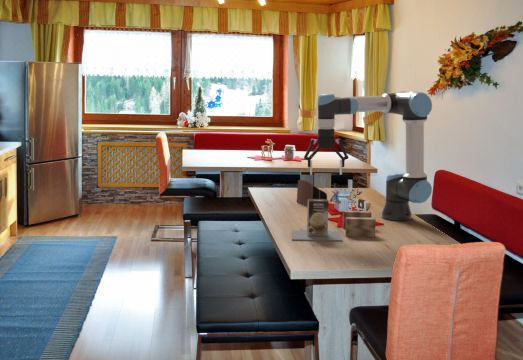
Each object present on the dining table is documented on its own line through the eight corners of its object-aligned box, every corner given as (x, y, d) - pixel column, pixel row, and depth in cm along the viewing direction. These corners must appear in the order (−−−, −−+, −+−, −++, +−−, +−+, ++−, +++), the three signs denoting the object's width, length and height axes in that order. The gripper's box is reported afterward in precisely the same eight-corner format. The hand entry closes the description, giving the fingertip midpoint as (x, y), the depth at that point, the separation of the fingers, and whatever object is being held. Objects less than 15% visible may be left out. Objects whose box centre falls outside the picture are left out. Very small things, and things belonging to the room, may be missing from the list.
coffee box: (307, 236, 298) (308, 201, 296) (306, 233, 304) (307, 198, 302) (328, 236, 298) (328, 201, 296) (326, 233, 304) (327, 198, 302)
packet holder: (369, 227, 321) (370, 211, 320) (375, 236, 301) (375, 219, 300) (342, 226, 322) (343, 210, 320) (346, 236, 302) (346, 218, 301)
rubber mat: (339, 232, 310) (339, 231, 310) (342, 241, 292) (342, 240, 292) (291, 231, 311) (291, 230, 311) (292, 240, 293) (292, 239, 293)
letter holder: (311, 208, 369) (311, 183, 366) (296, 202, 387) (297, 178, 385) (327, 207, 372) (328, 182, 370) (312, 201, 390) (312, 177, 388)
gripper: (352, 127, 307) (352, 173, 310) (298, 127, 307) (298, 173, 311) (354, 128, 299) (354, 175, 303) (299, 129, 300) (299, 175, 303)
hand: (326, 174), depth 307 cm, fingers open, 13 cm apart
